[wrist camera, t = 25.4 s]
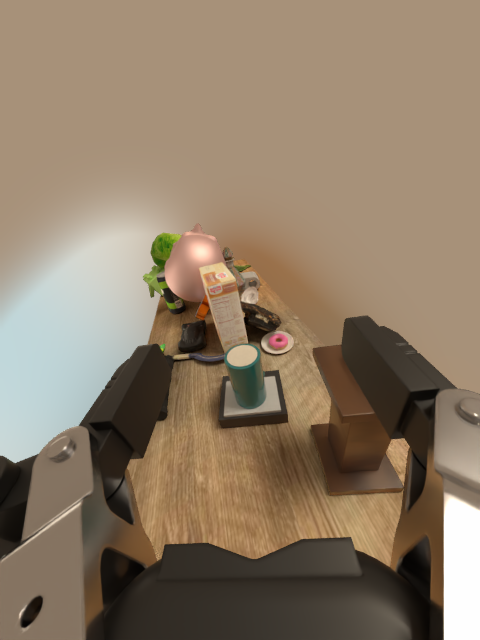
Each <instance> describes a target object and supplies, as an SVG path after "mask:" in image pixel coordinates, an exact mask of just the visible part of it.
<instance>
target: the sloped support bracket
mask: <svg viewBox="0 0 480 640" xmlns="http://www.w3.org/2000/svg"><path fill="white" fill-rule="evenodd" d="M240 274H241V275H242V276H243V278H244V279H245V283H244V284H243V286H242V288H241V289H240V292H244V291H245V290H246V289H247V288H249V287H252V286H253V287H256V289H258V288H259V286H260V281H259V279H258V276H257V274H256V273H255V272H246V273H240ZM251 280H254V281H253V282H250V281H251Z"/></svg>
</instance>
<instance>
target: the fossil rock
mask: <svg viewBox="0 0 480 640" xmlns="http://www.w3.org/2000/svg"><path fill="white" fill-rule="evenodd" d="M240 304H241V309H242V311H243V312H244V313H245V317H244V318H243V319H244V323H245V324H247V325H248V326H253V327H256V328H259V329H262V330H265V331H274V330H276V328H277V327H279V326H280V324H281V321H280V319H279V316H277V315H276V314H274V313H272V312H270V311H268V310H266V309H264V308H261V307H259V306H257V305H255V304H251V303H250V304H249V303H248V302H247V303H246V302H243V301H240Z"/></svg>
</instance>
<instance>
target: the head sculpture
mask: <svg viewBox="0 0 480 640" xmlns="http://www.w3.org/2000/svg"><path fill="white" fill-rule="evenodd" d="M221 262H223V264H224V265H225V266H226V263H225V260H224V257H223V254H222V251H221V249H220V247H219V244H218V242H217V240H216V238H215V237H214V236H211V235H207V234H205V233H204V232H203V231H202V228H201V226H200V224H196V225H195V227H194V229H193V230H191V231H190V232H185V233H184V234H183V235H182V236H181V237H180V239H179V240H178V241H177V242H175V243H174V244H173V248H172V251H171V254H170V257H169V259H168V260H167V261H166V263H165V266H164V268H165V280H166V282H167V285H168V286H169V288H170V289H171V290H172V292H173V293H174V294H176V295H177V296H178V297H180V298H182V299H184V300H187V301H191V302H202V300H203V297H204V295H205V289H204V286H203V282H202V279H201V275H200V271H199V268H200V267H203V266H208V265H213V264H217V263H221Z"/></svg>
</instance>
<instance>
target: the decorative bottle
mask: <svg viewBox="0 0 480 640" xmlns="http://www.w3.org/2000/svg"><path fill="white" fill-rule="evenodd" d="M222 254H223V257H224V260H225V263H226V267H227V269H228V270H229V271H230V272H231V274H232V275H233V276H234V277H235V279H236V283H237V288H238V293H239V292H240V289H241V288H242V286H243V284H244V283H245V279H244V278H243V276H242V275H241V274H240V273H239V271H238V270H237V269H236V268H235V266H234V264H233V260H234V258H233V257H231V256H232V255H233V253H232V252H231V250H230V249H229V248H228V247H225V248H224V250H223V253H222ZM242 294H243V293H239V298H240V301H241V296H242Z"/></svg>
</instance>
